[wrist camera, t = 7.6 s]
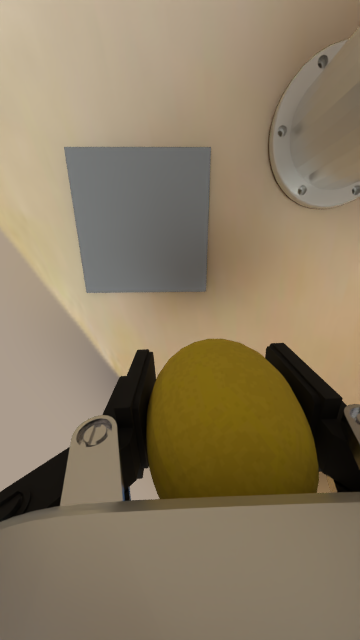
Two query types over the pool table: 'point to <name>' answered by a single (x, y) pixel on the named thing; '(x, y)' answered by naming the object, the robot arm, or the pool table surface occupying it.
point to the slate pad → (141, 217)
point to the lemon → (227, 426)
